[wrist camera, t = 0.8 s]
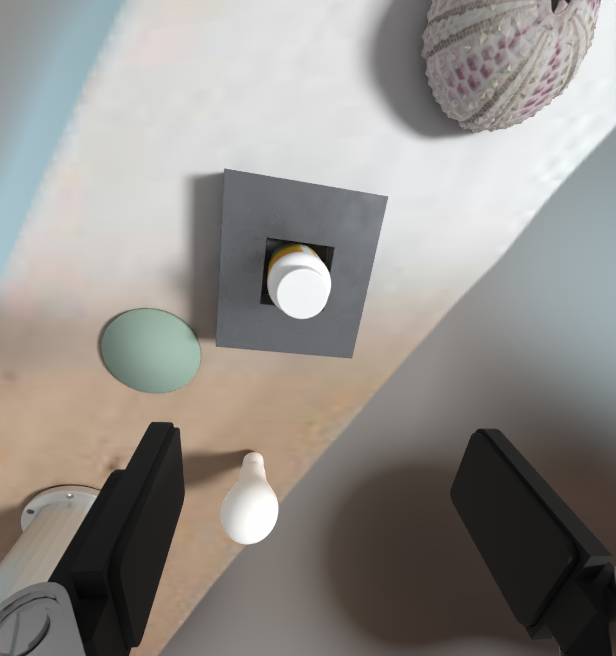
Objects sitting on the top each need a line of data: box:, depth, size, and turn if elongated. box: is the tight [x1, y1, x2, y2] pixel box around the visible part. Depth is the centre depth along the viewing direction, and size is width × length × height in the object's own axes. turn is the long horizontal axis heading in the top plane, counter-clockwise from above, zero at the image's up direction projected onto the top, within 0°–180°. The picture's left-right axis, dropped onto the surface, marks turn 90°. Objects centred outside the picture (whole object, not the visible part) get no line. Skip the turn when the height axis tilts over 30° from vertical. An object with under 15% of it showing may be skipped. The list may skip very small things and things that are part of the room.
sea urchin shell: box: [421, 0, 601, 133], centre depth 24 cm, size 13×14×8 cm
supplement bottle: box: [267, 242, 331, 319], centre depth 29 cm, size 5×5×10 cm
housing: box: [216, 169, 388, 358], centre depth 32 cm, size 16×14×4 cm
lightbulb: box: [220, 452, 278, 544], centre depth 37 cm, size 6×6×11 cm
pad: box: [101, 308, 201, 394], centre depth 35 cm, size 10×10×1 cm
